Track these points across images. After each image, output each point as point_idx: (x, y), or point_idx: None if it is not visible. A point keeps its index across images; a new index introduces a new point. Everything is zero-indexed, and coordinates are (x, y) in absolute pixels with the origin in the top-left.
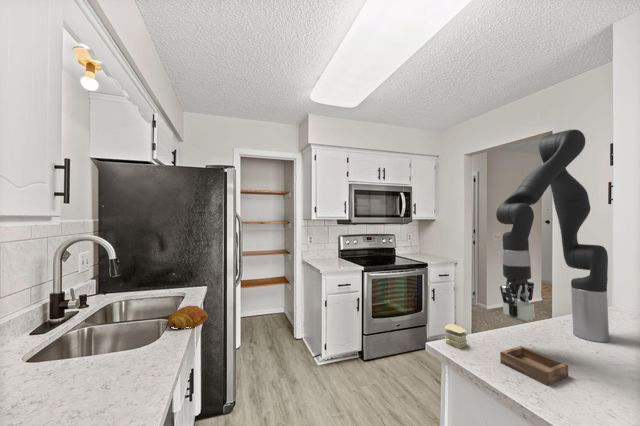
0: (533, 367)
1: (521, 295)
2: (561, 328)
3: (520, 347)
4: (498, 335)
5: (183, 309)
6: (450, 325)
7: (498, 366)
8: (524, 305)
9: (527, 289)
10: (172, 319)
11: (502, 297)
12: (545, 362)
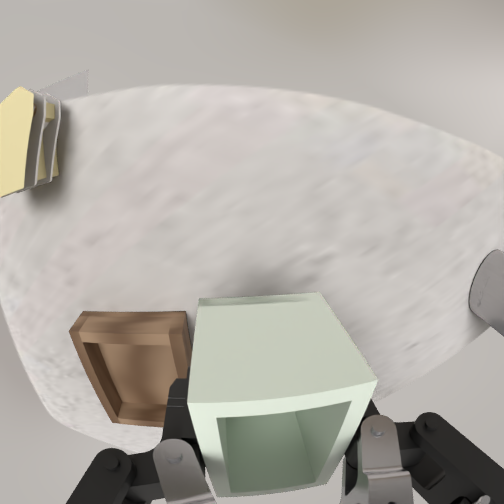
0: (102, 403)
1: (350, 499)
2: (499, 219)
3: (167, 340)
4: (294, 140)
5: None
6: (11, 104)
7: (65, 319)
8: (318, 442)
9: (447, 498)
10: None
11: (76, 490)
12: None
